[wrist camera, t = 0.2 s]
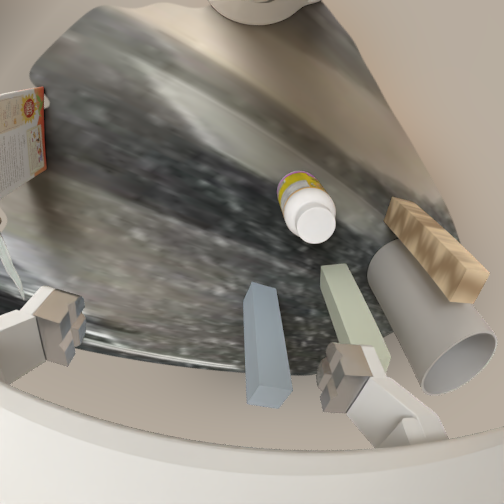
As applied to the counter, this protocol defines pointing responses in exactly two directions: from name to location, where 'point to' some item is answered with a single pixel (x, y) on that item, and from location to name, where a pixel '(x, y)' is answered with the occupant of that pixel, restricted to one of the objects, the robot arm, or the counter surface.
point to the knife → (9, 265)
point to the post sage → (351, 311)
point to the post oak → (437, 251)
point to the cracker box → (21, 138)
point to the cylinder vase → (429, 322)
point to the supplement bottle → (306, 207)
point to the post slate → (265, 349)
